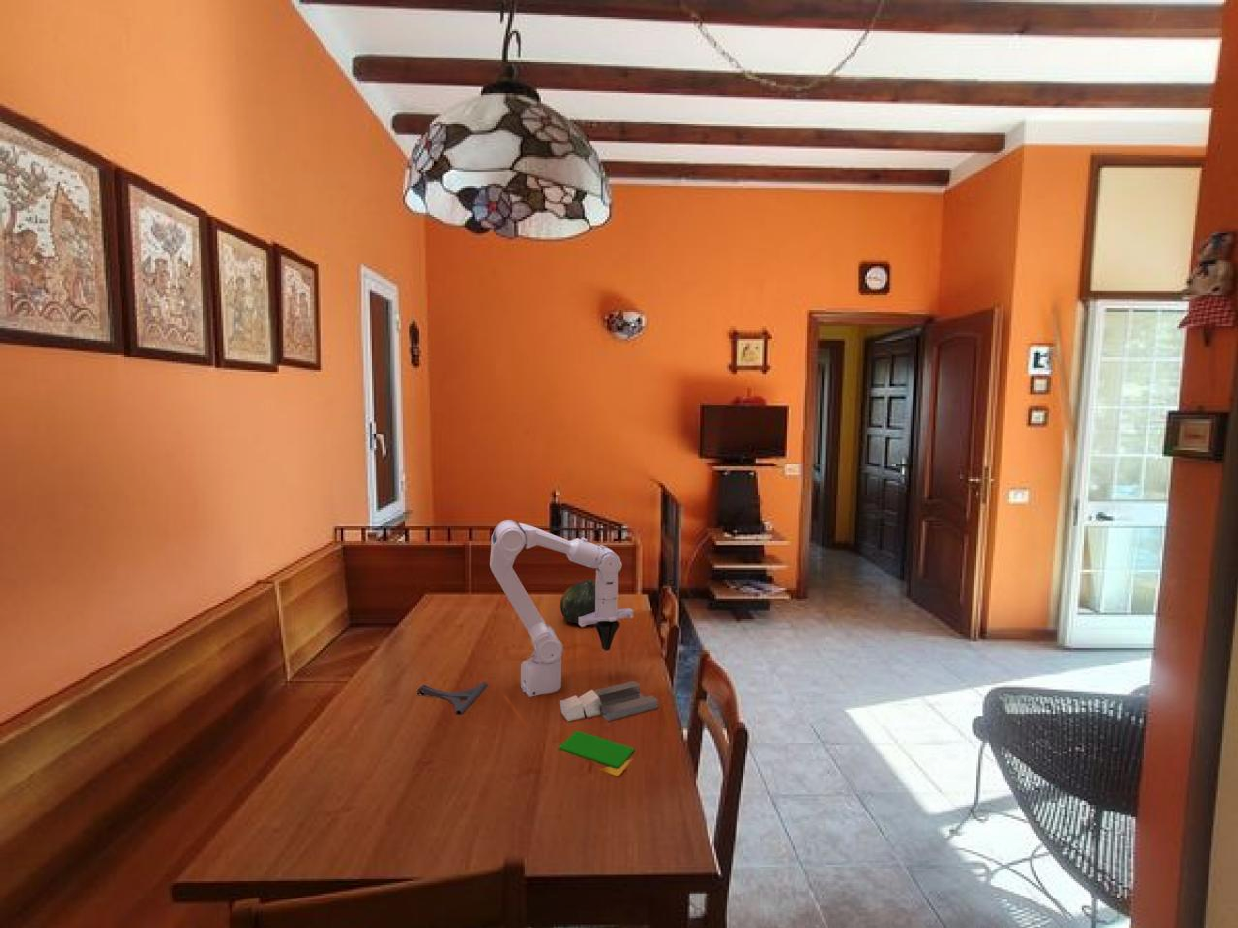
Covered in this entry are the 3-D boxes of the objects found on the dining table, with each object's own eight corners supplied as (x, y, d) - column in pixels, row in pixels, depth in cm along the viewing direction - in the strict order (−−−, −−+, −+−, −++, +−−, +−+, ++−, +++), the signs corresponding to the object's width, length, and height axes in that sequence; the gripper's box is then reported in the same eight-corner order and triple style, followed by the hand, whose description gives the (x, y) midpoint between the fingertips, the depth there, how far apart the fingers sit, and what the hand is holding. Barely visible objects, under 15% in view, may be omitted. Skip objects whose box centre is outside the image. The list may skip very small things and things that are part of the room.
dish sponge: (618, 778, 115) (618, 766, 114) (558, 757, 121) (558, 746, 121) (634, 759, 121) (634, 747, 121) (576, 740, 127) (576, 729, 127)
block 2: (589, 721, 134) (583, 706, 133) (582, 712, 137) (576, 698, 136) (604, 711, 135) (599, 697, 134) (597, 703, 139) (591, 689, 138)
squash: (555, 597, 203) (562, 573, 193) (597, 595, 208) (607, 571, 197) (560, 636, 194) (568, 612, 183) (604, 633, 198) (615, 610, 188)
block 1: (568, 725, 132) (566, 709, 131) (561, 717, 135) (559, 701, 135) (585, 719, 133) (582, 702, 133) (578, 711, 137) (575, 695, 136)
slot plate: (607, 727, 132) (607, 713, 131) (586, 705, 141) (586, 692, 141) (657, 713, 138) (658, 700, 138) (633, 693, 148) (634, 680, 147)
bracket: (432, 682, 154) (432, 672, 153) (487, 688, 151) (487, 677, 151) (402, 711, 139) (402, 699, 139) (462, 717, 137) (462, 706, 136)
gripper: (587, 605, 143) (586, 660, 144) (639, 597, 150) (638, 649, 151) (575, 597, 149) (574, 649, 151) (625, 589, 156) (625, 639, 157)
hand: (606, 648), depth 151 cm, fingers closed
